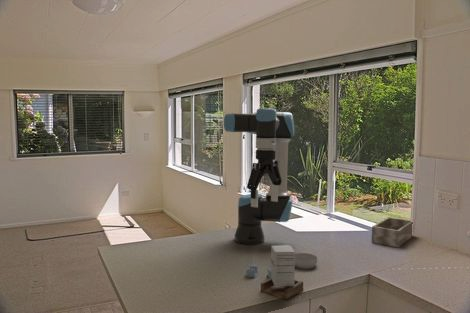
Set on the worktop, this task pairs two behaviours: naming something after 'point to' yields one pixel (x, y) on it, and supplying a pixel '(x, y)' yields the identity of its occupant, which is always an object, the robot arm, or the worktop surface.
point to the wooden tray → (282, 289)
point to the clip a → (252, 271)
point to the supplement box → (282, 265)
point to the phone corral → (392, 232)
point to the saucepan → (305, 260)
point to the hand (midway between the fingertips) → (264, 204)
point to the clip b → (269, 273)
